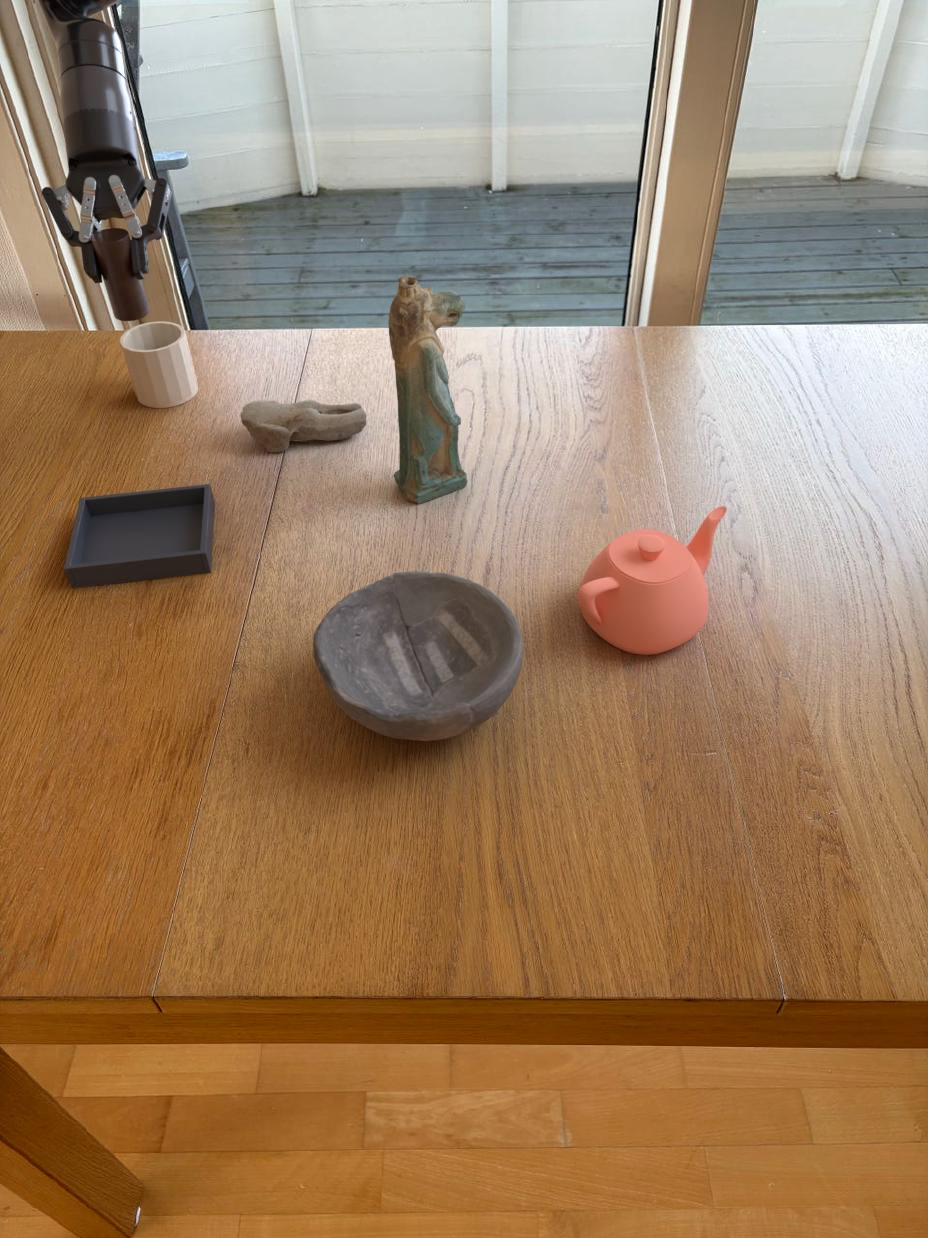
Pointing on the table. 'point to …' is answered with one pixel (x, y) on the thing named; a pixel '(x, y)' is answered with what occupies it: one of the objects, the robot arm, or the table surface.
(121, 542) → the tray
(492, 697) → the bowl
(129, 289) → the walnut peg
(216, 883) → the table surface
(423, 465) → the statue
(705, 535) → the teapot
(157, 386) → the cup
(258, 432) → the sculpture
